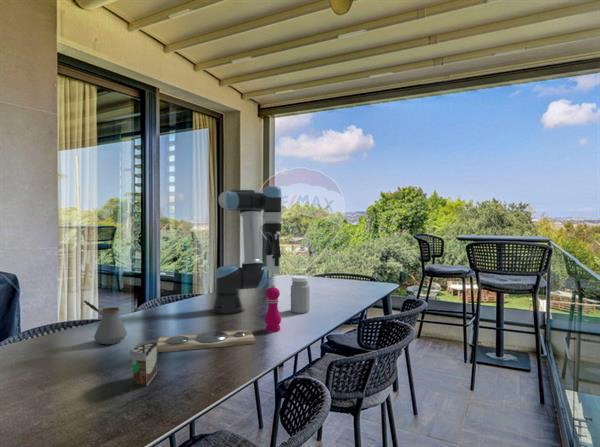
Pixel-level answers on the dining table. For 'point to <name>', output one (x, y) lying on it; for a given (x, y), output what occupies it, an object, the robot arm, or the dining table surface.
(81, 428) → the dining table surface
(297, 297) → the jar
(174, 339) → the flange
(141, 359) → the white and brown wedge
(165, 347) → the tan flat board
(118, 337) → the coffee pot
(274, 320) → the pepper mill
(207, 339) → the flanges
